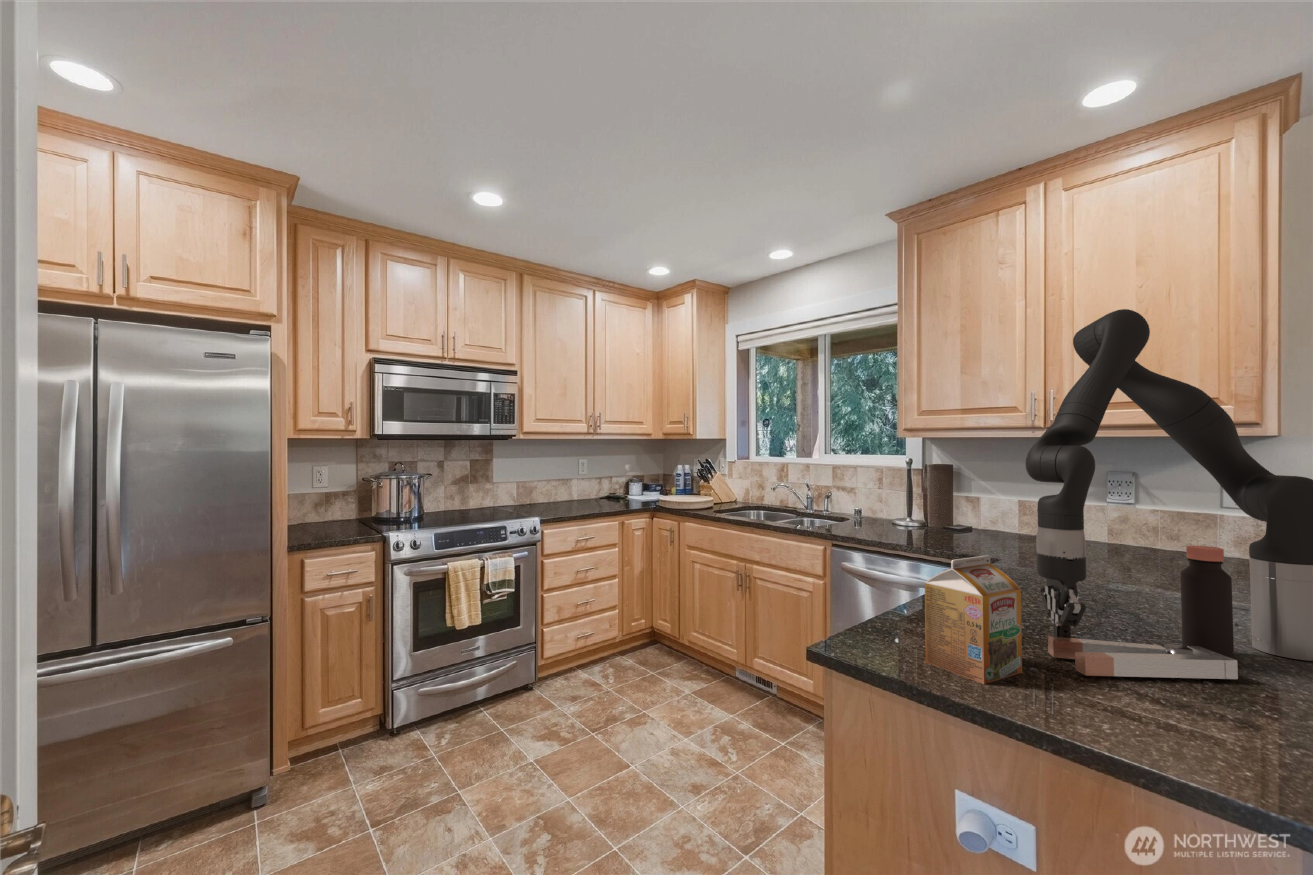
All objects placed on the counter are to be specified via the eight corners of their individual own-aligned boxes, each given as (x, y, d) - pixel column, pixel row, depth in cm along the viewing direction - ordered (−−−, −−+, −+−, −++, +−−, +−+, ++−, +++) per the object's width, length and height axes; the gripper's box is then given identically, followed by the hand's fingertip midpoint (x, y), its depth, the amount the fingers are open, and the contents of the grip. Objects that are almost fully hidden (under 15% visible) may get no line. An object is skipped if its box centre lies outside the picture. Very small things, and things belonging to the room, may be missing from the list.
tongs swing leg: (1184, 664, 97) (1184, 645, 97) (1198, 672, 93) (1197, 652, 93) (1047, 652, 103) (1046, 634, 103) (1054, 659, 99) (1054, 640, 99)
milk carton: (984, 684, 89) (982, 565, 90) (925, 662, 99) (924, 555, 99) (1022, 672, 94) (1020, 560, 95) (963, 653, 104) (961, 550, 104)
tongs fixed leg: (1199, 663, 97) (1198, 646, 97) (1237, 679, 90) (1237, 660, 90) (1058, 660, 98) (1057, 643, 98) (1085, 675, 91) (1085, 657, 92)
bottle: (1219, 652, 104) (1216, 545, 105) (1244, 665, 98) (1240, 551, 98) (1174, 648, 106) (1171, 543, 107) (1195, 660, 100) (1192, 549, 101)
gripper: (1024, 545, 111) (1025, 632, 110) (1053, 557, 98) (1055, 656, 98) (1067, 547, 109) (1068, 635, 109) (1103, 559, 96) (1105, 660, 96)
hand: (1062, 645), depth 103 cm, fingers closed
